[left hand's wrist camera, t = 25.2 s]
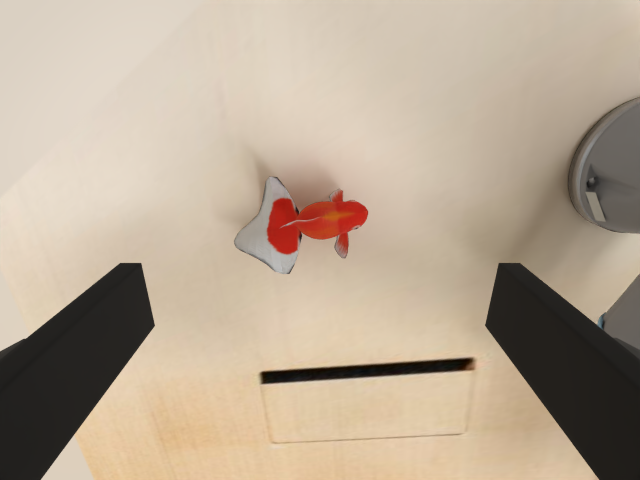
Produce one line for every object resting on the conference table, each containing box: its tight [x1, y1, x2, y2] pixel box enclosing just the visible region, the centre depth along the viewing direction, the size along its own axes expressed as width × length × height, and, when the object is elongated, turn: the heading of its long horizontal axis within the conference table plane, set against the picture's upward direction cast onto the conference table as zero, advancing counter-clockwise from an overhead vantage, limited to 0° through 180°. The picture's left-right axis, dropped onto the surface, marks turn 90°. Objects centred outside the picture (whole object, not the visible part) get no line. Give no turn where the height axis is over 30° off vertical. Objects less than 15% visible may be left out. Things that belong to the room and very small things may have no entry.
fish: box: [234, 177, 368, 274], centre depth 38 cm, size 11×16×10 cm
